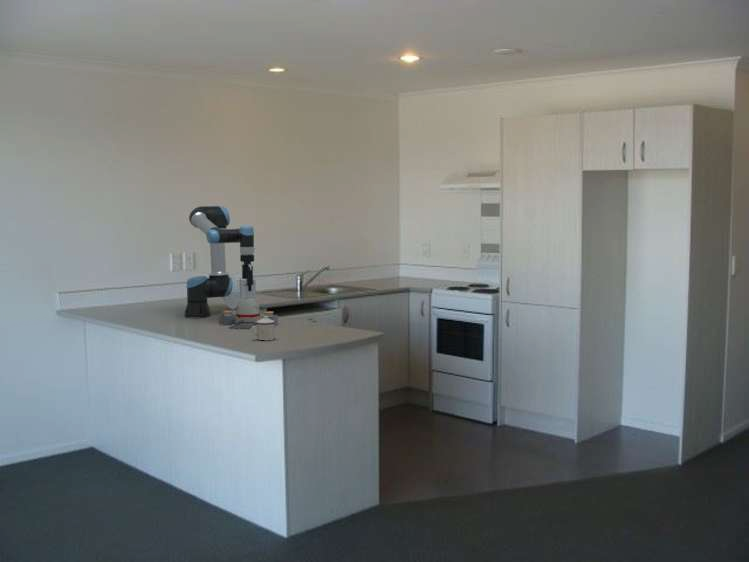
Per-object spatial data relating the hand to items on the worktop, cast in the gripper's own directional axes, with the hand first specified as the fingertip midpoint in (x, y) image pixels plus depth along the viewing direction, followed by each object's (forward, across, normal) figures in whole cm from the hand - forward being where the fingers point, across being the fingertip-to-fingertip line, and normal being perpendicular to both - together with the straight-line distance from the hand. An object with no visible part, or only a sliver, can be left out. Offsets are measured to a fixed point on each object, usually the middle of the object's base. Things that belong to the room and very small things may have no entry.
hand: (247, 296), depth 448 cm
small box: (+1, 0, 0) cm, 1 cm away
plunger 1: (+14, +6, +10) cm, 19 cm away
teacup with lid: (+15, -50, +7) cm, 53 cm away
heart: (+17, +64, -8) cm, 66 cm away
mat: (+16, -9, +6) cm, 19 cm away
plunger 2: (+14, -7, -10) cm, 19 cm away
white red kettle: (+16, +32, -9) cm, 37 cm away
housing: (+16, 0, 0) cm, 16 cm away
